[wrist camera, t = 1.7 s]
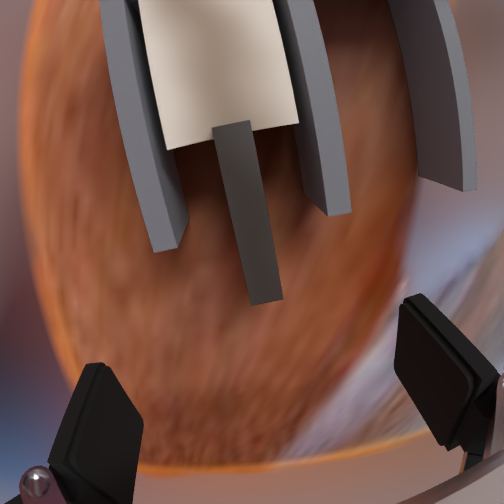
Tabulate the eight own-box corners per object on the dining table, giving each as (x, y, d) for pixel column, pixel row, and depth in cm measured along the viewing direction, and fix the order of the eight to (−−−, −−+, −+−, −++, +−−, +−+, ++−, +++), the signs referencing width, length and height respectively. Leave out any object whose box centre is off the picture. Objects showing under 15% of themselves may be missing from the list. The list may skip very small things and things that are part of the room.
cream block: (256, 4, 14) (266, -37, 9) (303, 248, 20) (326, 289, 15) (157, 24, 14) (132, -9, 9) (212, 267, 21) (207, 314, 15)
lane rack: (397, -13, 14) (434, -36, 9) (431, 174, 19) (476, 189, 15) (126, 15, 14) (98, -14, 9) (171, 222, 19) (154, 253, 15)
